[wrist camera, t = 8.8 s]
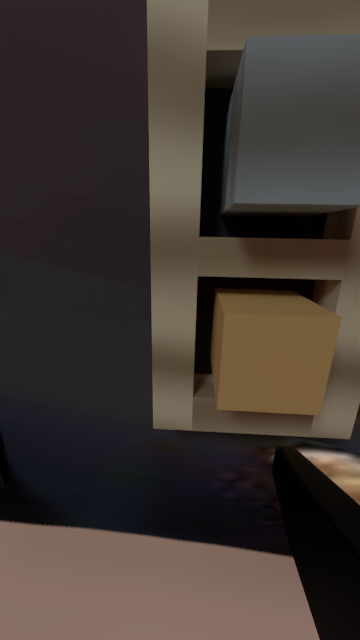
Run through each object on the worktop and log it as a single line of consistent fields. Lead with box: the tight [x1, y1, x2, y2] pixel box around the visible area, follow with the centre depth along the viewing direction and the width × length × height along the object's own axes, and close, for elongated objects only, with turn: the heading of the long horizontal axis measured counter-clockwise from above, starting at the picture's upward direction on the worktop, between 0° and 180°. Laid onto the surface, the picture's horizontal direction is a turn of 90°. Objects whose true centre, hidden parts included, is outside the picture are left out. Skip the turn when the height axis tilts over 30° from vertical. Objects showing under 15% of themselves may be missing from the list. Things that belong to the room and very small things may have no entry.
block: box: [210, 288, 342, 415], centre depth 15 cm, size 5×5×6 cm
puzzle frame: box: [147, 0, 360, 439], centre depth 13 cm, size 22×12×6 cm, turn 179°
